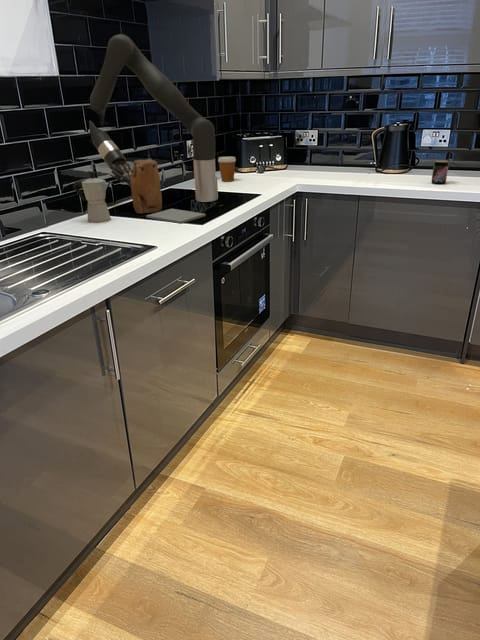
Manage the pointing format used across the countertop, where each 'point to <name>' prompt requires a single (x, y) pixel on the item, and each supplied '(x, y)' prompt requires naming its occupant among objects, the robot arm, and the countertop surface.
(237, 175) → the countertop surface
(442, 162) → the supplement container
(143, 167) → the block
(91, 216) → the coffee maker
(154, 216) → the mat
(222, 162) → the disposable coffee cup
